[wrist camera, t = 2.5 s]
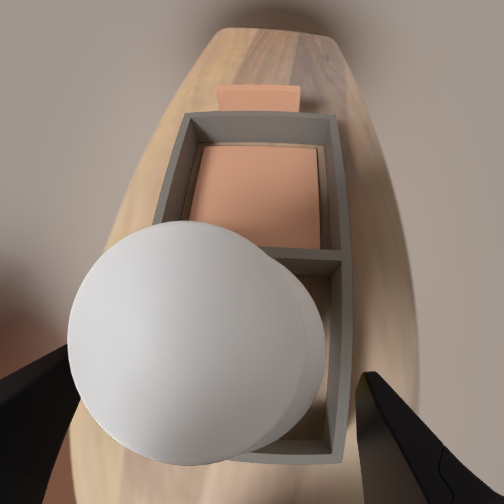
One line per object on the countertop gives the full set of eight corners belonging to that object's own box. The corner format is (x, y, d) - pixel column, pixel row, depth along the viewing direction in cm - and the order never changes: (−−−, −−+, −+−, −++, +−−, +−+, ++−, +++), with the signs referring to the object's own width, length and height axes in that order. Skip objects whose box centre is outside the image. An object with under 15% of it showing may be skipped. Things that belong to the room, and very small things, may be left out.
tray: (330, 447, 14) (351, 476, 9) (145, 428, 15) (106, 444, 10) (329, 134, 22) (338, 89, 18) (194, 131, 23) (181, 88, 19)
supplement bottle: (255, 281, 18) (226, 128, 6) (319, 364, 16) (434, 367, 4) (169, 340, 17) (10, 288, 5) (229, 426, 15) (143, 543, 3)
